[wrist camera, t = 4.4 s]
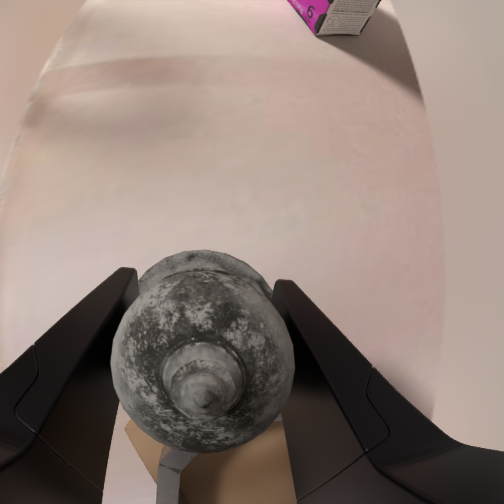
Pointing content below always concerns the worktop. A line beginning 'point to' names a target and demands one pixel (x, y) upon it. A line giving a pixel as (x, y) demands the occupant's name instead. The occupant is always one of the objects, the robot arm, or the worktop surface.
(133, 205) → the worktop surface
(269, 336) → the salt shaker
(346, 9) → the candy bar box
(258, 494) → the socket base
